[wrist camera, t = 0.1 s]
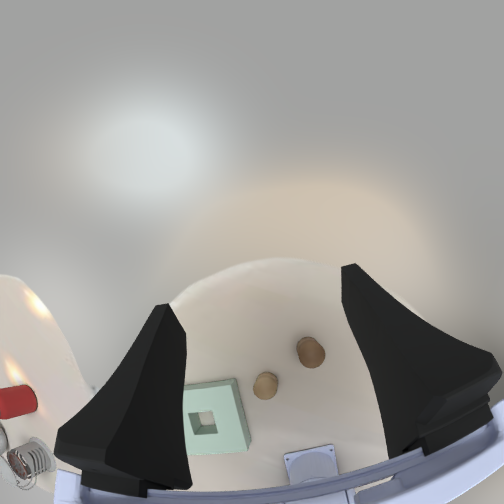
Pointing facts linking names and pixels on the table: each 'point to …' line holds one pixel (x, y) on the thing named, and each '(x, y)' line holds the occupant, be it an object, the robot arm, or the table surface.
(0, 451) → the donut
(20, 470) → the french press
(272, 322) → the table surface
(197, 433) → the collar block
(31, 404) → the beer can
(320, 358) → the long pin
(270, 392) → the short pin
